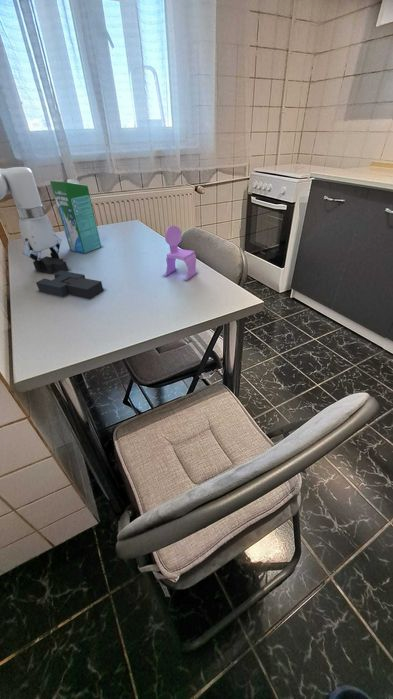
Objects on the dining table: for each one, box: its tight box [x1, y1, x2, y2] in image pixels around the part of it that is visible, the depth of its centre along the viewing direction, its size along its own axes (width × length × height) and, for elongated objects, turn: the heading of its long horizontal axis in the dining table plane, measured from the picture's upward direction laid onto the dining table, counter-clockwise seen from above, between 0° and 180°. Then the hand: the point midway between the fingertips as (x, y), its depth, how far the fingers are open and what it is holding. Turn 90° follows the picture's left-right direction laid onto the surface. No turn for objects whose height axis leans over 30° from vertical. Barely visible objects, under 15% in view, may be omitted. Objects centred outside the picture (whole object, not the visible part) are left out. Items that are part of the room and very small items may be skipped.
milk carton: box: [49, 179, 102, 254], centre depth 114 cm, size 9×9×25 cm
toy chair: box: [164, 225, 197, 281], centre depth 92 cm, size 8×9×15 cm
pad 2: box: [63, 277, 104, 300], centre depth 88 cm, size 11×6×3 cm, turn 65°
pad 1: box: [32, 256, 69, 274], centre depth 103 cm, size 11×6×3 cm, turn 65°
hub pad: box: [35, 270, 86, 298], centre depth 91 cm, size 10×10×3 cm
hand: (50, 267), depth 104 cm, fingers closed on pad 1, 6 cm apart
